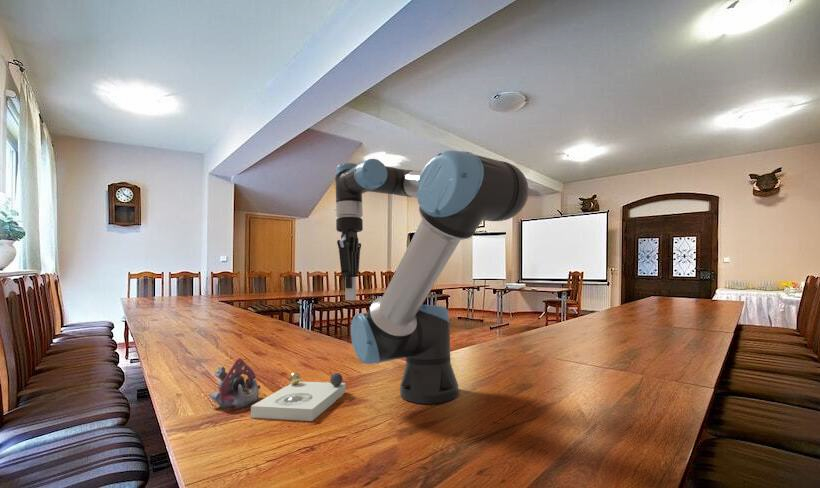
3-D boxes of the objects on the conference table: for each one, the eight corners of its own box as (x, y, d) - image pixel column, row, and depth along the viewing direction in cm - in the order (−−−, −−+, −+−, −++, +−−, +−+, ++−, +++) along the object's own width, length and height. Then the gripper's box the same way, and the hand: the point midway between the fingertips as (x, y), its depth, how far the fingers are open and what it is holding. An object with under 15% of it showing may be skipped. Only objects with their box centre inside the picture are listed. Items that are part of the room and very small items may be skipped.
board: (294, 390, 99) (294, 381, 99) (345, 392, 96) (345, 383, 96) (250, 417, 81) (250, 406, 81) (312, 421, 78) (312, 409, 78)
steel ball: (303, 400, 86) (298, 393, 84) (299, 413, 84) (294, 407, 82) (290, 400, 87) (285, 394, 85) (286, 413, 84) (281, 407, 82)
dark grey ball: (344, 384, 95) (344, 371, 96) (339, 387, 92) (339, 375, 93) (333, 383, 96) (333, 371, 96) (328, 387, 93) (328, 374, 93)
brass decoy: (303, 382, 98) (303, 370, 98) (297, 386, 95) (297, 373, 95) (292, 382, 99) (292, 370, 99) (286, 385, 95) (286, 373, 96)
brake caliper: (242, 403, 83) (219, 359, 87) (213, 428, 86) (191, 385, 89) (275, 388, 94) (253, 350, 97) (248, 411, 96) (228, 373, 100)
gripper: (345, 221, 111) (346, 298, 109) (327, 215, 98) (328, 302, 96) (368, 220, 109) (370, 298, 107) (353, 213, 96) (355, 301, 94)
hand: (350, 300), depth 102 cm, fingers closed
